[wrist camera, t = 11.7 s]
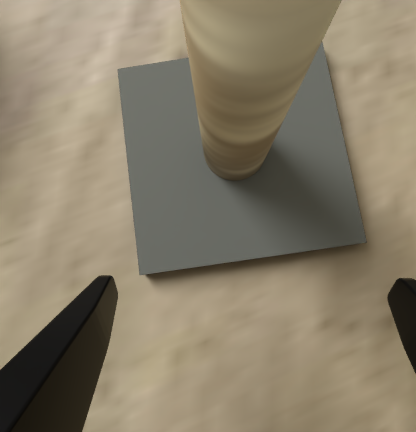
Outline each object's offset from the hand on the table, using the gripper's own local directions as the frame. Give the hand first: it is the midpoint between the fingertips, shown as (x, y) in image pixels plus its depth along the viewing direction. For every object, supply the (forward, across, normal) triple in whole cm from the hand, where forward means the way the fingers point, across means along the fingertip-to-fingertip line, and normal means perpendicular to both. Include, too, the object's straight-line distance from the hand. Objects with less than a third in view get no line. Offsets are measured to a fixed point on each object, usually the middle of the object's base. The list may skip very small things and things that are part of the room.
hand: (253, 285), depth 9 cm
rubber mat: (+12, 0, +1) cm, 12 cm away
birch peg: (+11, 0, 0) cm, 11 cm away
